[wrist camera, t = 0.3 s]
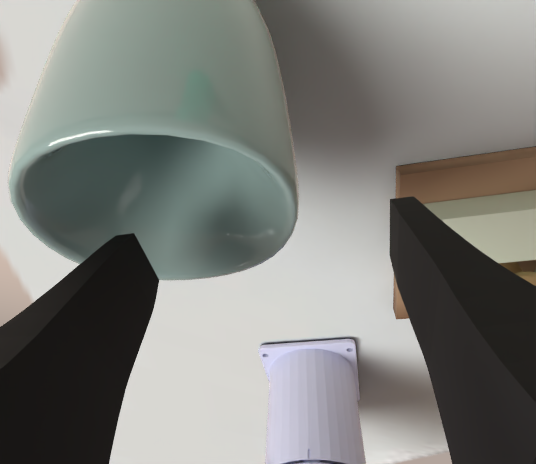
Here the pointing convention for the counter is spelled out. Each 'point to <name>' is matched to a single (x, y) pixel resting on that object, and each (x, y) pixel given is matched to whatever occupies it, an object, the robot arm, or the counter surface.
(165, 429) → the counter surface
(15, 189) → the cup
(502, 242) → the panel
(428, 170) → the board
